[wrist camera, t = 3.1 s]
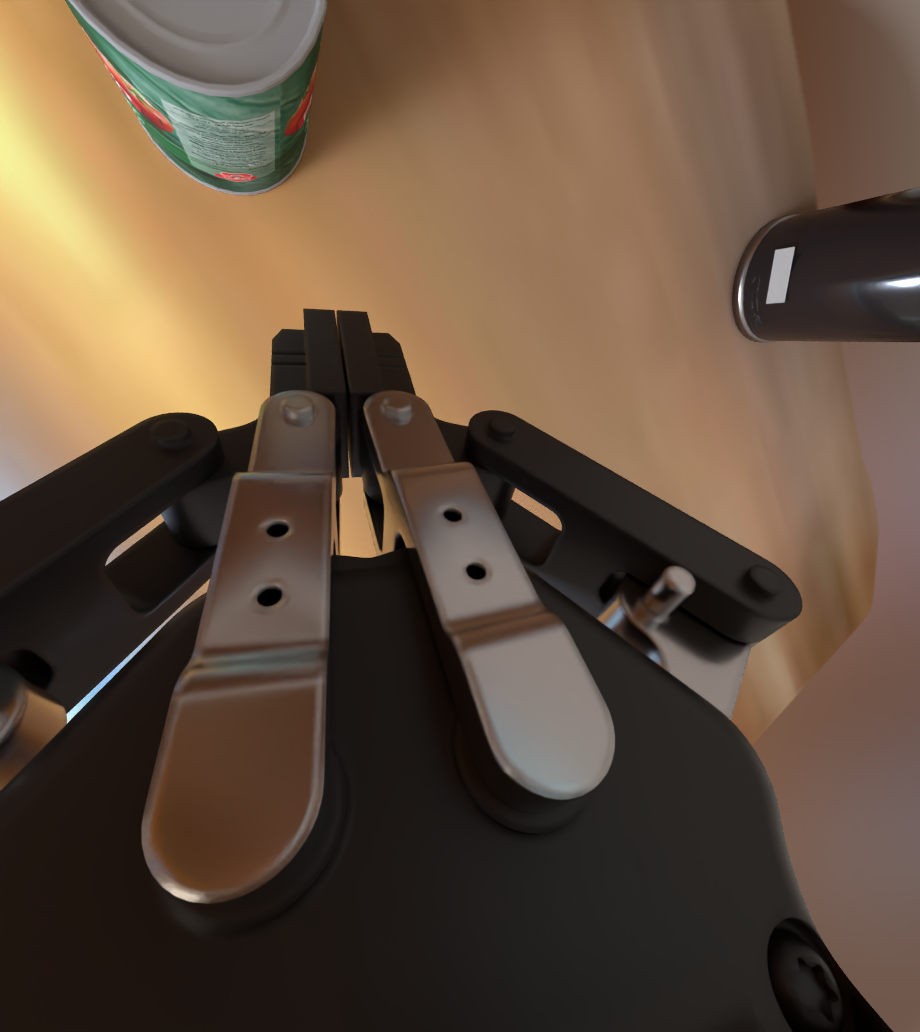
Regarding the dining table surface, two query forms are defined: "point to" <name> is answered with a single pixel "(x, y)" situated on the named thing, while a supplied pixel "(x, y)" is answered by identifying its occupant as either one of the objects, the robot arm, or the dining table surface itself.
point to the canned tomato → (215, 80)
